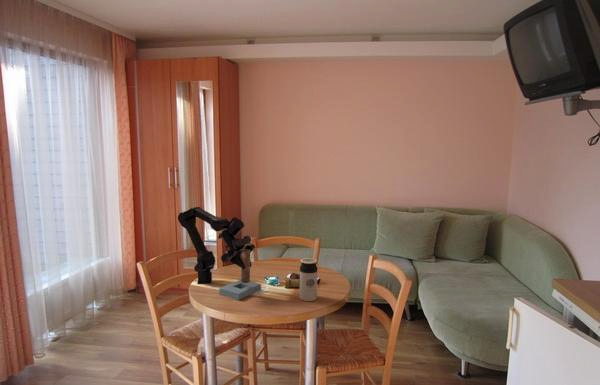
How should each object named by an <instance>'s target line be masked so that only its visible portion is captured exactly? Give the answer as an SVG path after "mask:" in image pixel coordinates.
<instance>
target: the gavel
mask: <svg viewBox="0 0 600 385" xmlns="http://www.w3.org/2000/svg"><path fill="white" fill-rule="evenodd" d="M291 275H292V276H291V279H290V278H284V288H285V289H288V288H300V278H297V274H296V273H295V272H292V273H291Z"/></svg>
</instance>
